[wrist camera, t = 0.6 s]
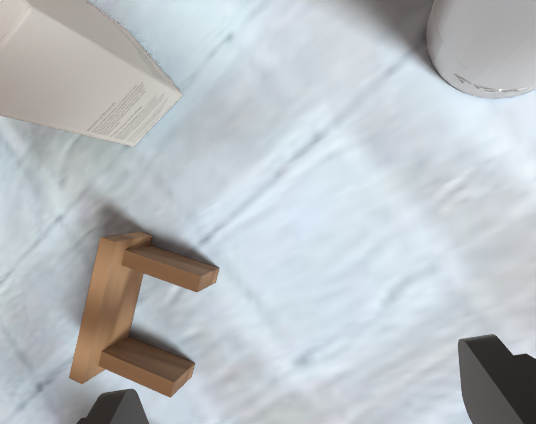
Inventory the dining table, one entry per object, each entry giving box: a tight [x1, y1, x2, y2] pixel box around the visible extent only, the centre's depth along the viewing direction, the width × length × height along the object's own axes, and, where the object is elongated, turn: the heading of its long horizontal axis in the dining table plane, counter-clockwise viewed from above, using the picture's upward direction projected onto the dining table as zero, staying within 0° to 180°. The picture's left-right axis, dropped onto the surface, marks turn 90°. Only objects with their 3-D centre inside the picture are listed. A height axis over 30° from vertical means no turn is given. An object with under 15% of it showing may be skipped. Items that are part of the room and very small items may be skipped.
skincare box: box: [0, 0, 182, 146], centre depth 25 cm, size 8×7×16 cm
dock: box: [69, 232, 219, 397], centre depth 30 cm, size 11×8×5 cm
